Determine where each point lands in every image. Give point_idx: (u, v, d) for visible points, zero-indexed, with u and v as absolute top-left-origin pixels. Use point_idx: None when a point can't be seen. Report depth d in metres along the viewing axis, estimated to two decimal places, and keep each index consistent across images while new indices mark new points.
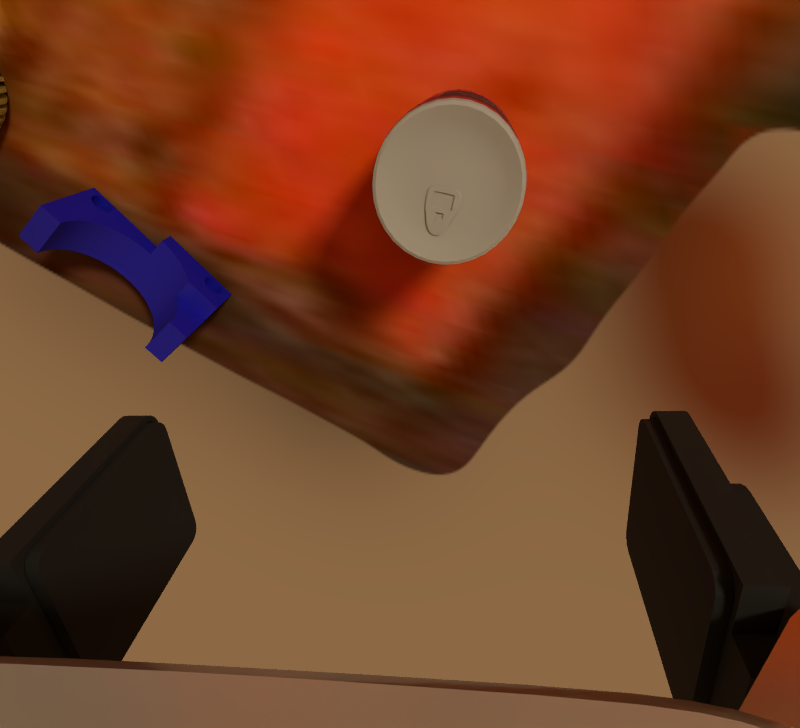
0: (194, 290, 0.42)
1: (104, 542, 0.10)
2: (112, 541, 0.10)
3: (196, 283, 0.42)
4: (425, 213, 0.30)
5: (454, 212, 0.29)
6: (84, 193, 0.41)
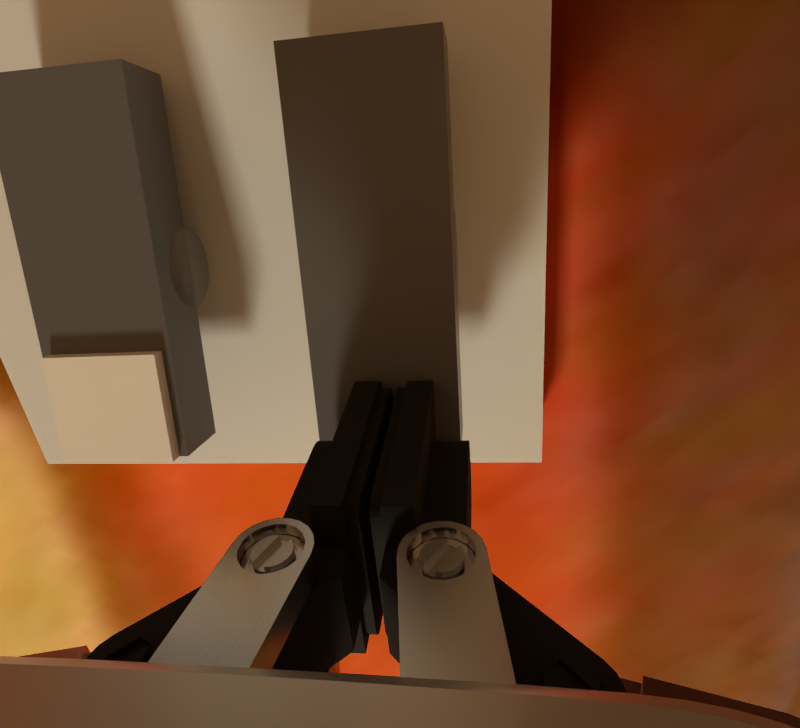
0: None
1: None
2: None
3: None
4: None
5: None
6: None
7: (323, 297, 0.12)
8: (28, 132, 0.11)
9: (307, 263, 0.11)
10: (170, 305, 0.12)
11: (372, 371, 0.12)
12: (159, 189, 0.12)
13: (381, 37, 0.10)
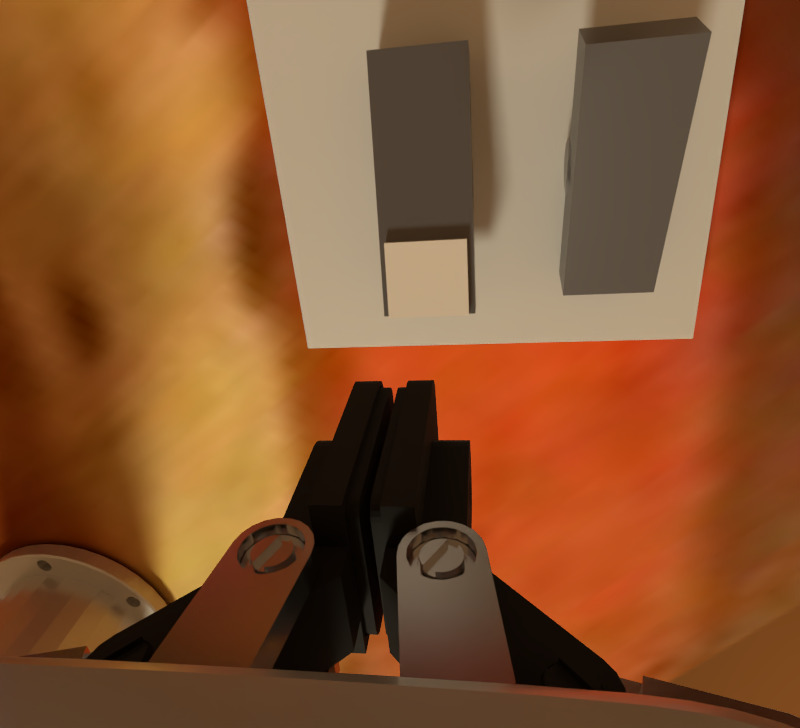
0: None
1: None
2: None
3: None
4: None
5: None
6: None
7: (585, 206, 0.18)
8: (395, 88, 0.17)
9: (578, 186, 0.18)
10: (472, 207, 0.18)
11: (607, 248, 0.19)
12: None
13: (664, 41, 0.15)
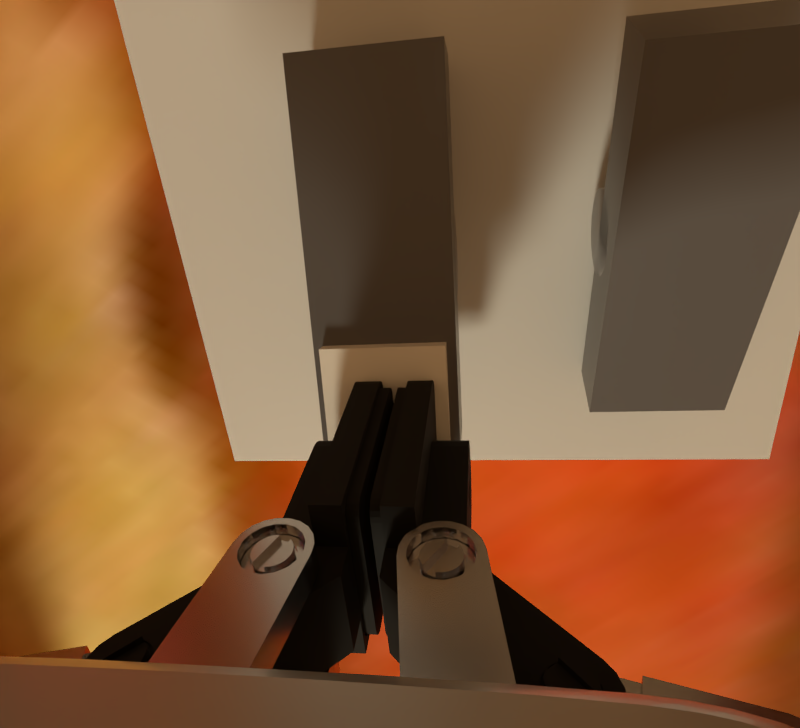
0: None
1: None
2: None
3: None
4: None
5: None
6: None
7: (629, 295, 0.12)
8: (330, 113, 0.11)
9: (620, 266, 0.11)
10: (454, 294, 0.12)
11: (660, 353, 0.12)
12: (451, 174, 0.12)
13: (785, 35, 0.08)
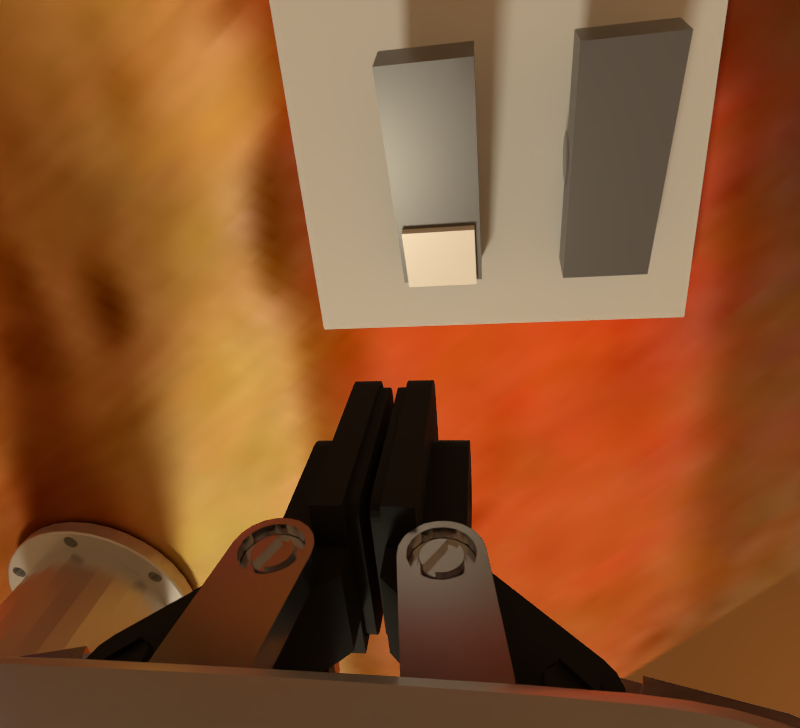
0: None
1: None
2: None
3: None
4: None
5: None
6: None
7: (582, 191, 0.19)
8: (403, 102, 0.18)
9: (576, 173, 0.19)
10: None
11: (603, 232, 0.20)
12: None
13: (651, 38, 0.16)
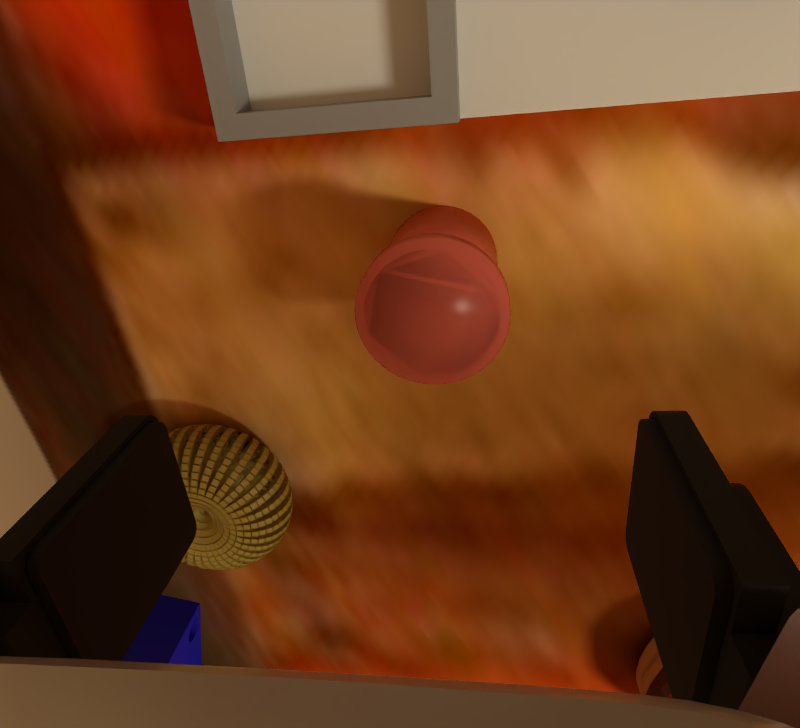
0: None
1: (105, 542, 0.10)
2: (113, 541, 0.10)
3: None
4: None
5: None
6: (189, 624, 0.35)
7: None
8: None
9: None
10: None
11: None
12: None
13: None
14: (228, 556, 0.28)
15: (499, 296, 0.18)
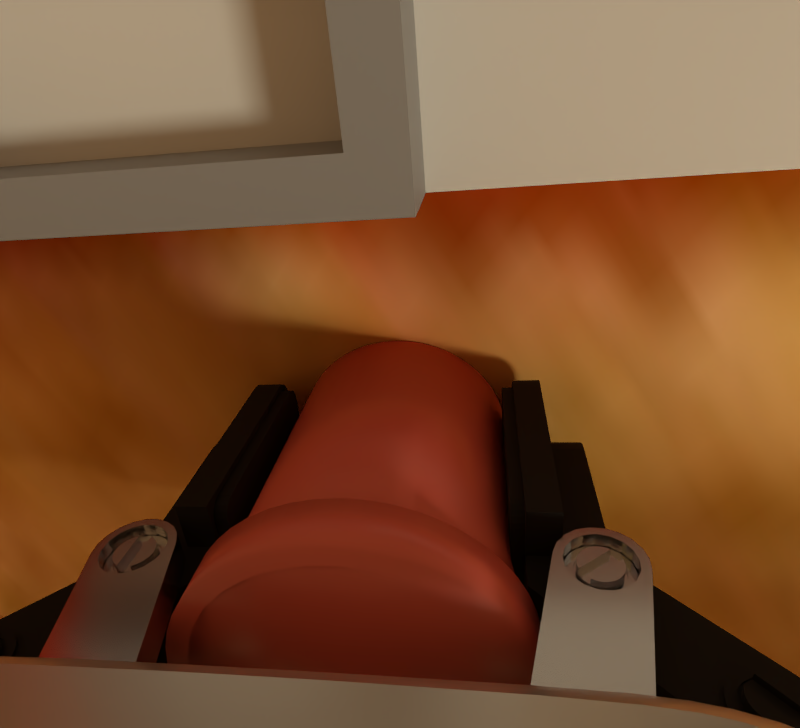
0: None
1: None
2: None
3: None
4: None
5: None
6: None
7: None
8: None
9: None
10: None
11: None
12: None
13: None
14: None
15: (521, 669, 0.07)
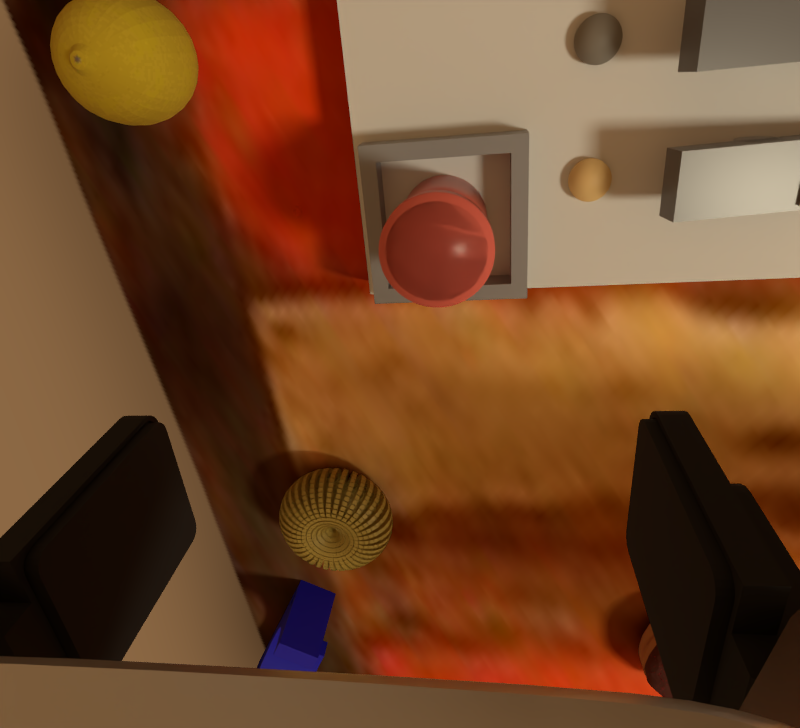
0: None
1: (104, 542, 0.10)
2: (112, 541, 0.10)
3: None
4: None
5: None
6: (330, 609, 0.46)
7: None
8: (700, 201, 0.26)
9: (792, 57, 0.23)
10: (787, 139, 0.25)
11: None
12: (728, 144, 0.25)
13: (707, 14, 0.22)
14: (348, 561, 0.40)
15: (486, 237, 0.24)
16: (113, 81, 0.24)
